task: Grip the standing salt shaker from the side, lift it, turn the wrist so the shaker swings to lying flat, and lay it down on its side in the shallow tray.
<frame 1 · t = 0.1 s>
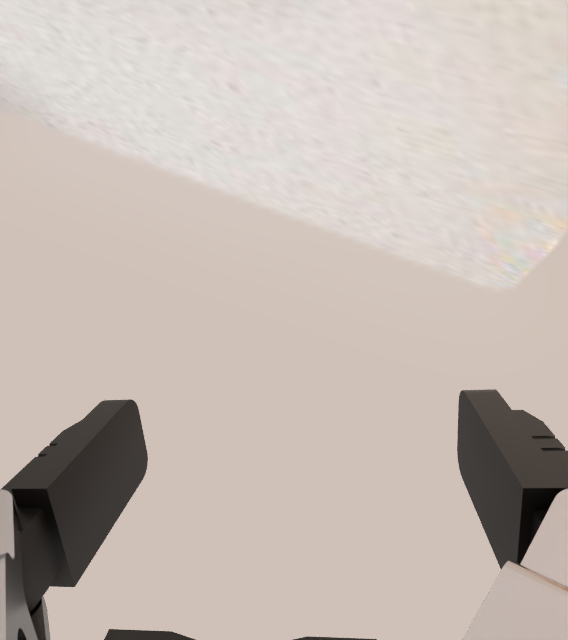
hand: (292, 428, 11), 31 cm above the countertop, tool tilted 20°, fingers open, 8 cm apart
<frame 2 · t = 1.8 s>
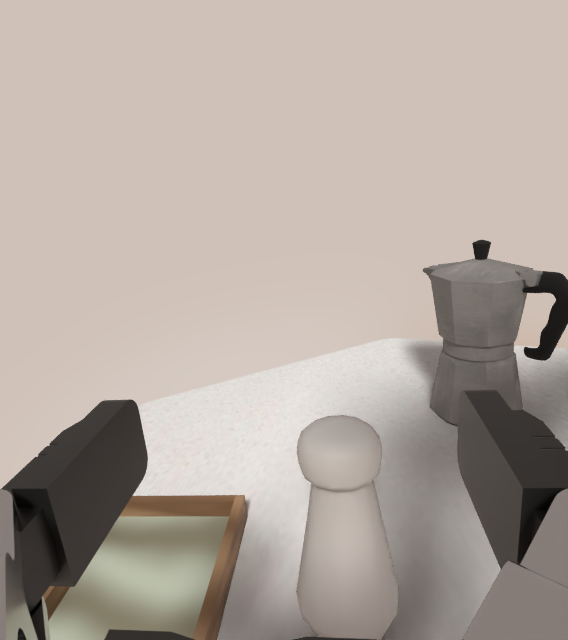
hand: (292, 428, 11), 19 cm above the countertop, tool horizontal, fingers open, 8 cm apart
tray: (130, 622, 28), on the countertop
coffeepot: (484, 414, 48), on the countertop
salt shaker: (349, 624, 27), on the countertop
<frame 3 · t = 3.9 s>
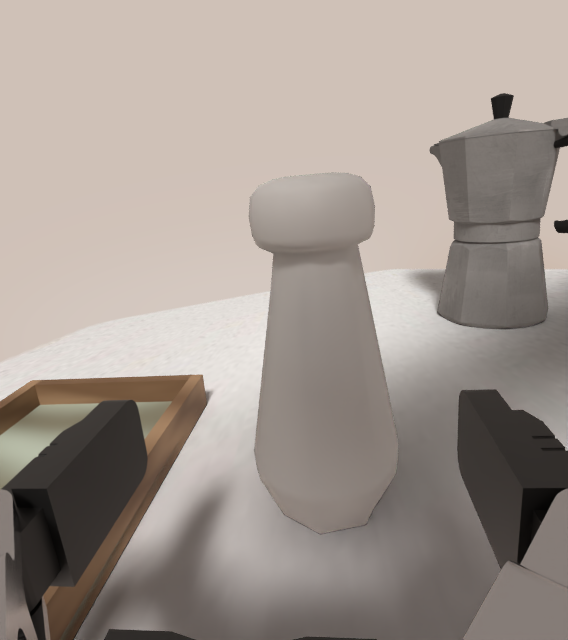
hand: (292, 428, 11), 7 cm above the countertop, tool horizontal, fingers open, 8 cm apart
tray: (28, 504, 20), on the countertop
coffeepot: (502, 317, 40), on the countertop
salt shaker: (329, 501, 19), on the countertop
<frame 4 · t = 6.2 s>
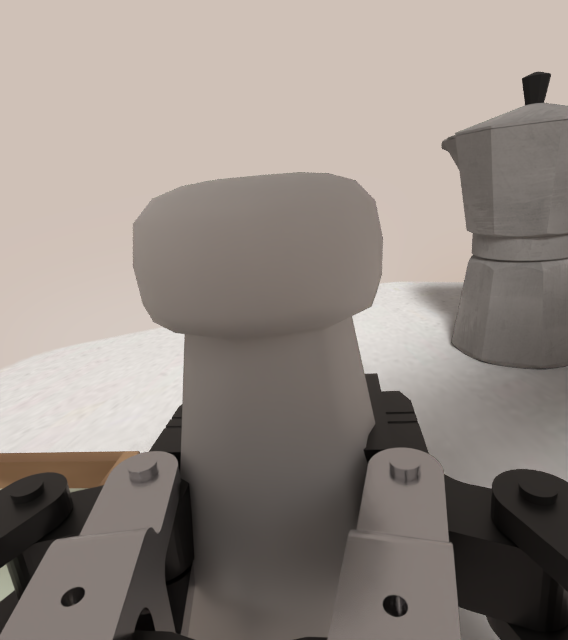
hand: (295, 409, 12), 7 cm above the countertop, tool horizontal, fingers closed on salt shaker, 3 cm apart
coffeepot: (532, 351, 33), on the countertop
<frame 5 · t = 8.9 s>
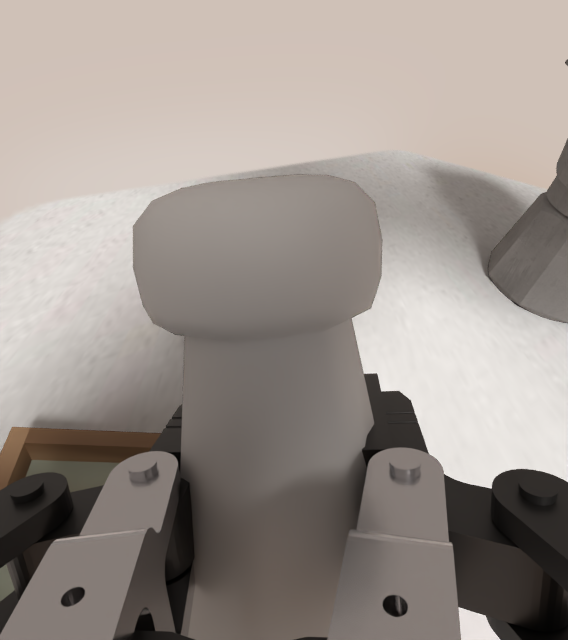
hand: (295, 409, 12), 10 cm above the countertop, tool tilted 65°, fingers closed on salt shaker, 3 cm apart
coffeepot: (552, 294, 36), on the countertop
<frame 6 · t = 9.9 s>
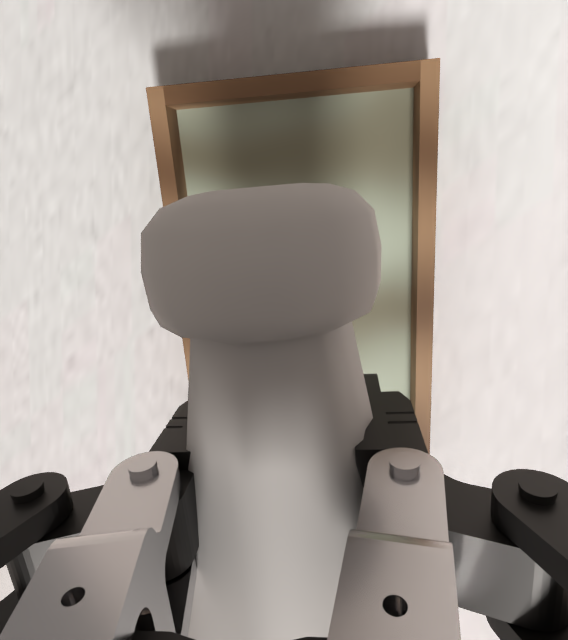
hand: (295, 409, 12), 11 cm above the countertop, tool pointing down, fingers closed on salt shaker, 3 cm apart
tray: (304, 292, 22), on the countertop
when the fingers open (2 cm above the countertop, at t = 11.8 s): salt shaker drops 1 cm, resting on tray.
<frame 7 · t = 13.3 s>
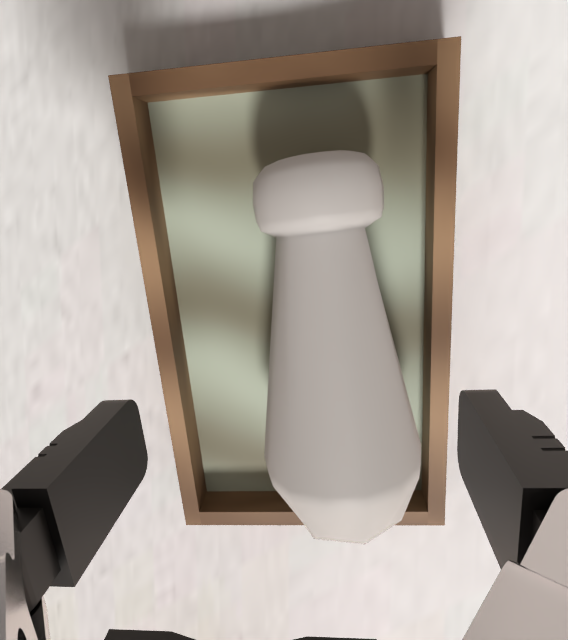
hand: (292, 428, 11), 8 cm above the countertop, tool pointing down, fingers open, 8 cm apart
tray: (299, 312, 19), on the countertop
salt shaker: (347, 512, 18), point 4 cm above the countertop, touching tray
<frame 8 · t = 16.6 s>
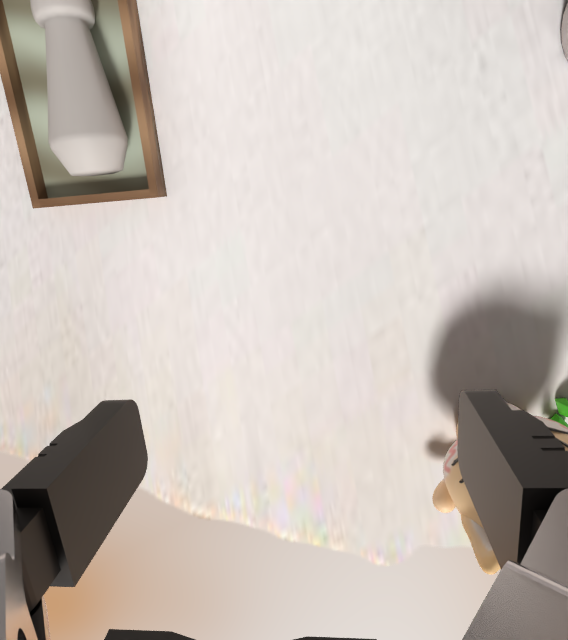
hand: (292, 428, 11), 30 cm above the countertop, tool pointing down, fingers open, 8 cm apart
tray: (83, 88, 38), on the countertop
kitten: (491, 422, 43), on the countertop
salt shaker: (95, 174, 36), point 4 cm above the countertop, touching tray
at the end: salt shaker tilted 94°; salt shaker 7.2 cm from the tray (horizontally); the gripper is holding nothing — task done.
